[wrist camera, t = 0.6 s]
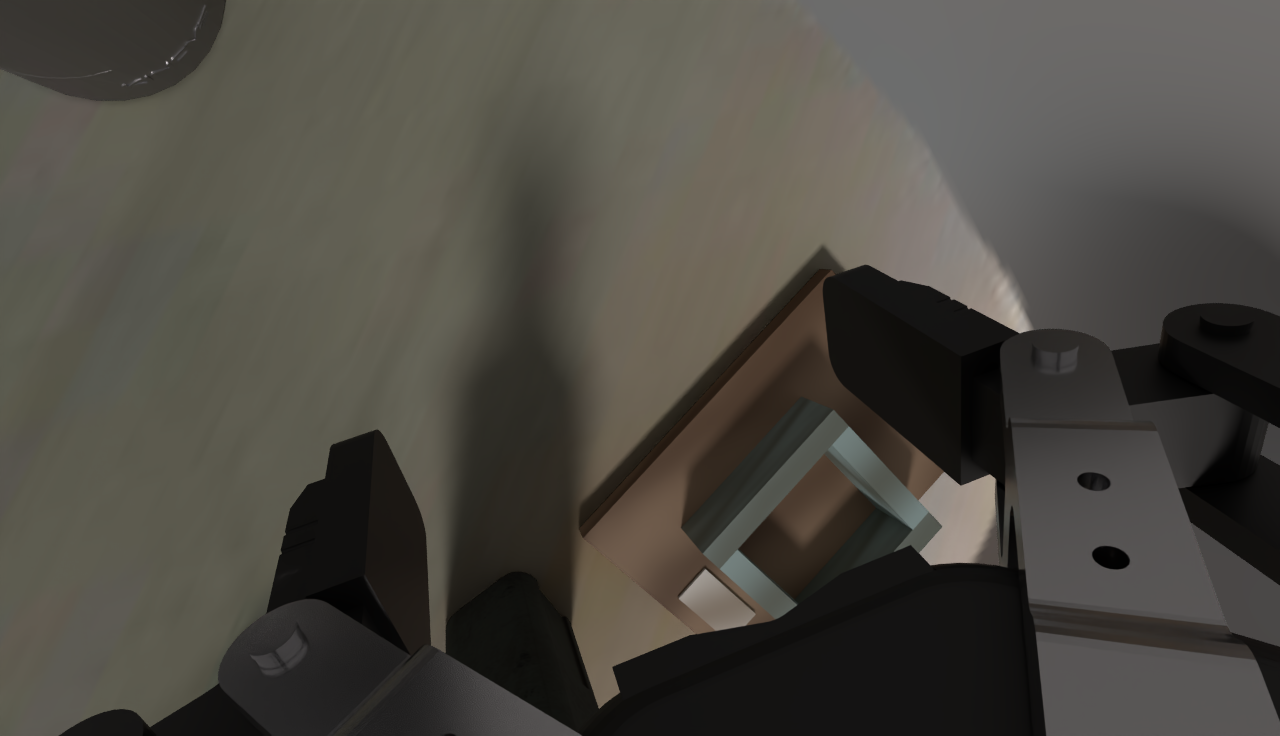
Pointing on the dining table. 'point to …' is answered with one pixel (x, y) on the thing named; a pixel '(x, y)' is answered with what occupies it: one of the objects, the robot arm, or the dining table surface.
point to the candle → (524, 648)
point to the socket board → (766, 486)
